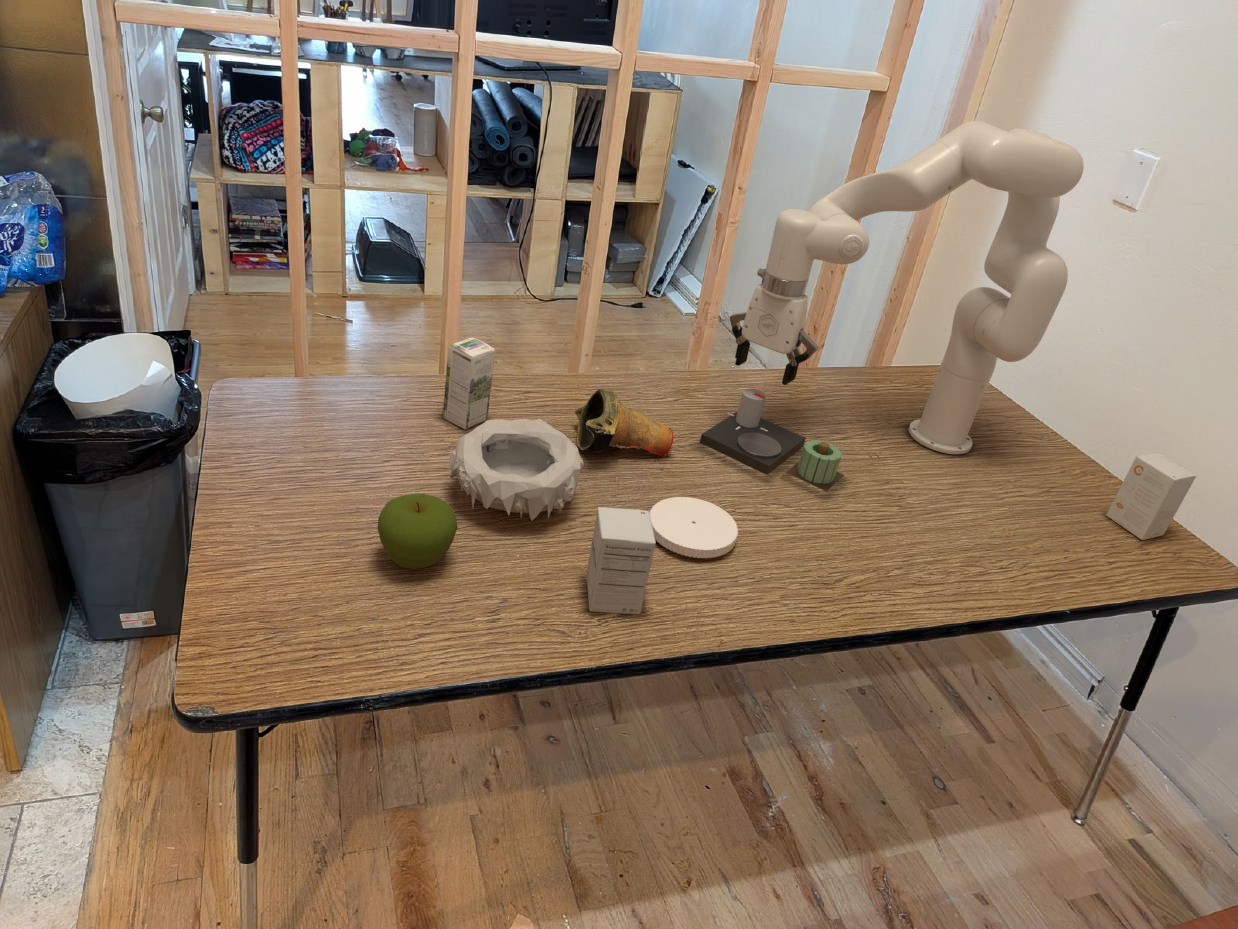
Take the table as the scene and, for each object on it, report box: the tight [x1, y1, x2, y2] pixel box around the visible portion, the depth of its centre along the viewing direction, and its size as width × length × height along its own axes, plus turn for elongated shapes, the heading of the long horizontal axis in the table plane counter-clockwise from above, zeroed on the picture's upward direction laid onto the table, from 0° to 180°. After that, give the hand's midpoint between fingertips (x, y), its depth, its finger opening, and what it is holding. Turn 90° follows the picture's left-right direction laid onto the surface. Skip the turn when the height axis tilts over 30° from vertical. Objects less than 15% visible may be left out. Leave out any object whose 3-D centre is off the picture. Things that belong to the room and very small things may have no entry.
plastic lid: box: [649, 496, 739, 559], centre depth 143 cm, size 14×14×2 cm
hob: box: [699, 410, 807, 476], centre depth 169 cm, size 15×15×3 cm
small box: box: [1105, 452, 1197, 541], centre depth 165 cm, size 8×6×13 cm
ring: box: [797, 439, 843, 484], centre depth 162 cm, size 7×7×5 cm
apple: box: [377, 493, 458, 570], centre depth 125 cm, size 11×10×10 cm
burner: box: [737, 433, 781, 459], centre depth 165 cm, size 8×8×1 cm
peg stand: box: [785, 441, 845, 493], centre depth 163 cm, size 8×8×7 cm
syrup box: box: [442, 337, 496, 431], centre depth 159 cm, size 6×6×14 cm
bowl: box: [449, 418, 585, 521], centre depth 142 cm, size 21×20×10 cm
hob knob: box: [736, 388, 767, 428], centre depth 171 cm, size 4×4×6 cm
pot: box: [573, 388, 675, 459], centre depth 160 cm, size 17×11×18 cm
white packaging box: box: [585, 506, 657, 615], centre depth 125 cm, size 7×7×13 cm
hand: (763, 372), depth 167 cm, fingers open, 9 cm apart
